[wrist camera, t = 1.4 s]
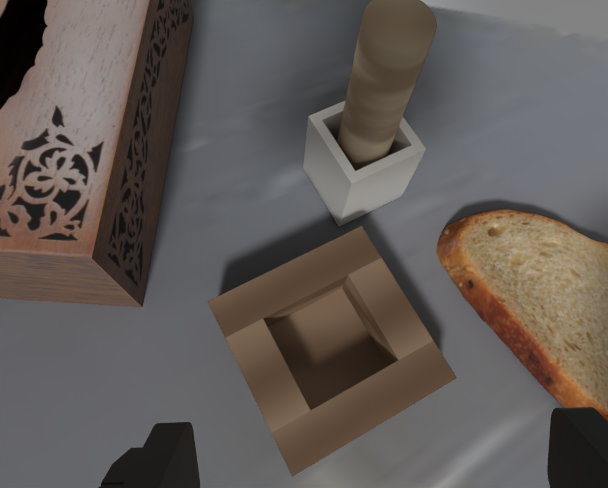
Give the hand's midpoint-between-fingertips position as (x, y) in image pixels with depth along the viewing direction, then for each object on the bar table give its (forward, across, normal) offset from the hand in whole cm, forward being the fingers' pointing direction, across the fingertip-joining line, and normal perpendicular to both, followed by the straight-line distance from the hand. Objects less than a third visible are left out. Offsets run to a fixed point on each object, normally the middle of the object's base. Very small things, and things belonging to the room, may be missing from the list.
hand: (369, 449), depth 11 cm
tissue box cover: (+29, +19, -7) cm, 35 cm away
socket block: (+20, +1, +8) cm, 22 cm away
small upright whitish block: (+28, -2, -2) cm, 28 cm away
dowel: (+28, -2, -3) cm, 28 cm away
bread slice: (+23, -16, +8) cm, 29 cm away
